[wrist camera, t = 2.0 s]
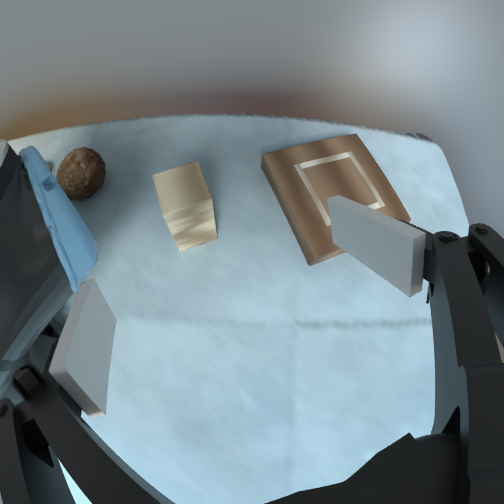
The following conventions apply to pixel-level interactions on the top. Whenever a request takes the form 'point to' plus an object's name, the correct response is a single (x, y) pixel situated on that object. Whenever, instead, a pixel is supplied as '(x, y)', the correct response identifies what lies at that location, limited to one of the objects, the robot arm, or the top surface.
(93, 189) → the mushroom
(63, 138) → the top surface
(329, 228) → the base board
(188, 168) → the beech pillar
